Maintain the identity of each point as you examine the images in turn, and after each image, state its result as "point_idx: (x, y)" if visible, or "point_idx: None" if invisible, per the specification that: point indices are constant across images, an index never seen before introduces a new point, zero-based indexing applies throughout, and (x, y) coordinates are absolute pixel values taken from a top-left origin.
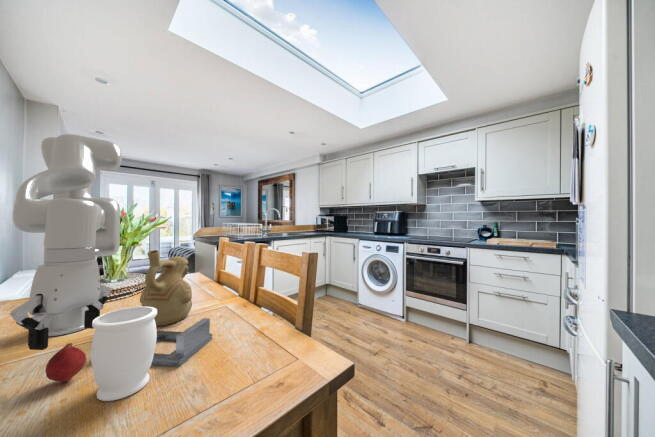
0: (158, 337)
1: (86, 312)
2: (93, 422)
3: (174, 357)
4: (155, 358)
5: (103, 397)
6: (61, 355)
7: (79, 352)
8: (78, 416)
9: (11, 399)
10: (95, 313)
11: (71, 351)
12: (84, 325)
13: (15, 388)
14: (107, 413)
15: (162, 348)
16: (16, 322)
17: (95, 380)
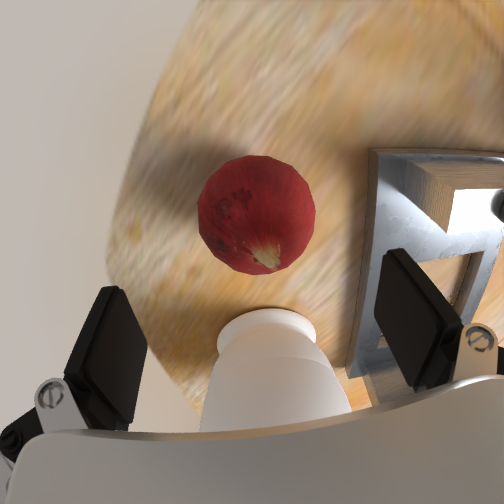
0: (472, 251)
1: (429, 335)
2: (179, 366)
3: (360, 366)
4: (359, 340)
5: (218, 350)
6: (227, 259)
7: (280, 269)
8: (177, 340)
9: (148, 135)
10: (406, 379)
11: (257, 271)
12: (389, 263)
13: (185, 71)
14: (200, 368)
15: (431, 280)
16: (1, 435)
17: (214, 365)
